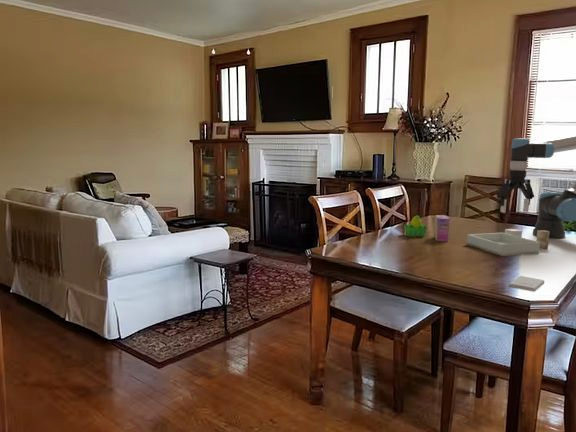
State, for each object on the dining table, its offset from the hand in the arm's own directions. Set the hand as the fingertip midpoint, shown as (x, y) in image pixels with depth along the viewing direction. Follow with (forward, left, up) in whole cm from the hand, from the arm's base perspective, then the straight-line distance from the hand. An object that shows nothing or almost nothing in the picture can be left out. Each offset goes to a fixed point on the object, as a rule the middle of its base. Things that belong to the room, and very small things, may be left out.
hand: (514, 212), depth 233 cm
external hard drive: (+49, +65, -15) cm, 82 cm away
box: (+34, -11, -15) cm, 38 cm away
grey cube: (0, 0, -15) cm, 15 cm away
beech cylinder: (-1, +18, -15) cm, 23 cm away
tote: (+19, +15, -15) cm, 28 cm away
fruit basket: (+42, -23, -15) cm, 50 cm away
